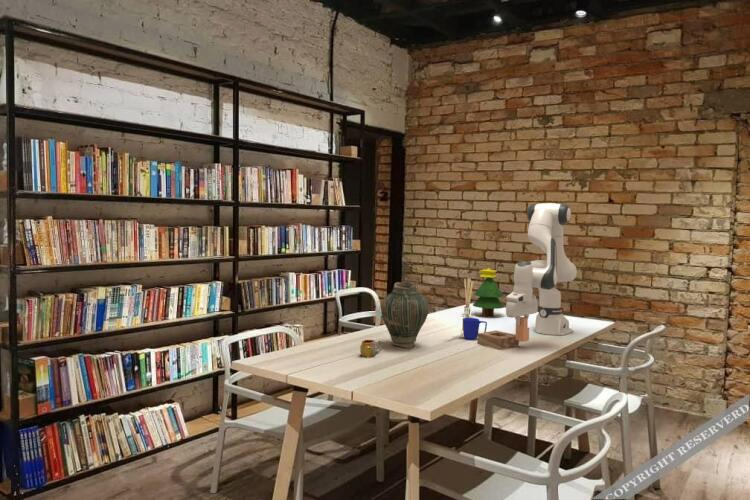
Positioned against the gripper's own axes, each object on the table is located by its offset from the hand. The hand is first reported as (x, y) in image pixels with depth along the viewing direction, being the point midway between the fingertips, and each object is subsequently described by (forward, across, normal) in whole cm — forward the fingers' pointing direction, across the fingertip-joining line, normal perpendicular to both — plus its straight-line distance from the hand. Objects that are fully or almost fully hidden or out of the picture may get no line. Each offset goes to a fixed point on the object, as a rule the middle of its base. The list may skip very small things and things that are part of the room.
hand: (521, 324), depth 269 cm
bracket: (+8, -1, 0) cm, 8 cm away
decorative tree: (+13, -52, -63) cm, 82 cm away
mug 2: (+12, +5, -25) cm, 28 cm away
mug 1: (+10, +68, -29) cm, 75 cm away
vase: (+11, +45, -34) cm, 57 cm away
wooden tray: (+11, +5, -10) cm, 16 cm away
